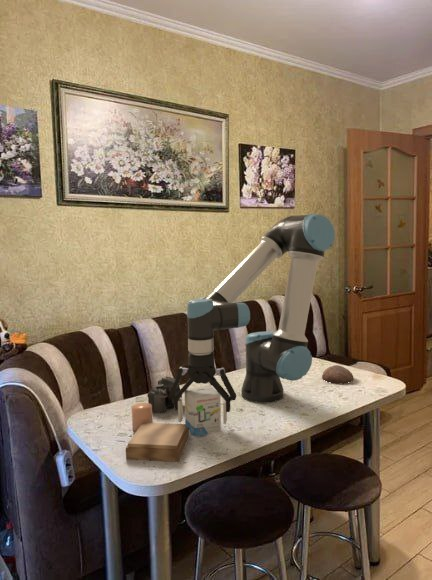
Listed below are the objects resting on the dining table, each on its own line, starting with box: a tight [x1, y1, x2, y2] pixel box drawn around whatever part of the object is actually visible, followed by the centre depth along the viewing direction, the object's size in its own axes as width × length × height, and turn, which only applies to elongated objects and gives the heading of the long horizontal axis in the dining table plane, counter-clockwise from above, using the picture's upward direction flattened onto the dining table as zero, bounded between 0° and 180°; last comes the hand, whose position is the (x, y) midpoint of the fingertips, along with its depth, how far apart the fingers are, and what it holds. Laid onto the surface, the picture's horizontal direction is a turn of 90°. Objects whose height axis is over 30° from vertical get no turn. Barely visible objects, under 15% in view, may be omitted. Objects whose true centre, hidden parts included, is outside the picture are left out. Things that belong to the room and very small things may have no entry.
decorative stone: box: [321, 364, 354, 384], centre depth 173 cm, size 12×12×6 cm
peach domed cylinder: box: [131, 402, 154, 433], centre depth 131 cm, size 6×6×7 cm
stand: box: [125, 422, 190, 463], centre depth 119 cm, size 14×14×4 cm
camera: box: [146, 375, 183, 414], centre depth 149 cm, size 13×10×10 cm
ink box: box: [184, 385, 222, 437], centre depth 130 cm, size 8×8×12 cm
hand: (202, 421), depth 131 cm, fingers open, 13 cm apart
